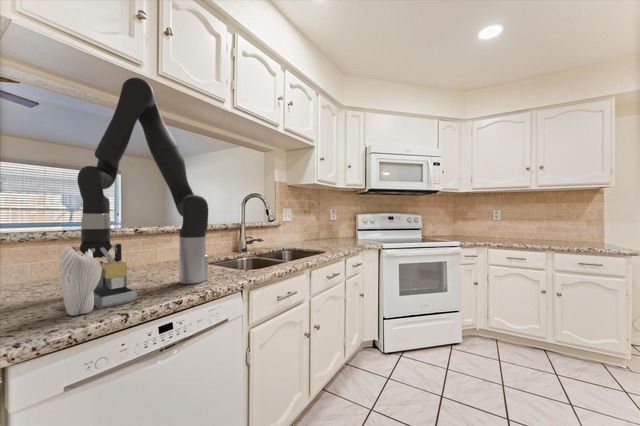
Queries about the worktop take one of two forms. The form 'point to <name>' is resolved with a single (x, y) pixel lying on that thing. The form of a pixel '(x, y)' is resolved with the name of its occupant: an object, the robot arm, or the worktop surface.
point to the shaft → (113, 281)
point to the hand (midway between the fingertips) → (95, 276)
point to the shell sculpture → (78, 280)
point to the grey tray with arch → (113, 294)
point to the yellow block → (113, 269)
